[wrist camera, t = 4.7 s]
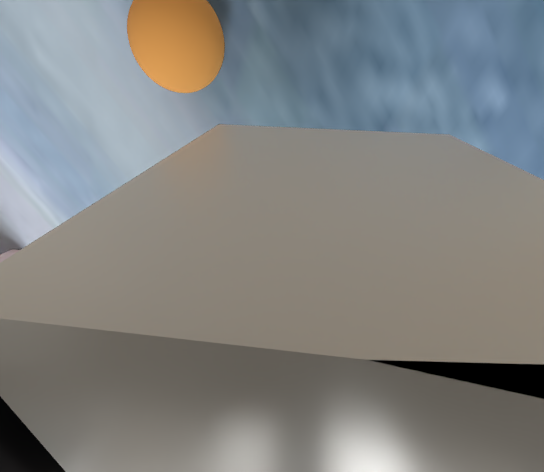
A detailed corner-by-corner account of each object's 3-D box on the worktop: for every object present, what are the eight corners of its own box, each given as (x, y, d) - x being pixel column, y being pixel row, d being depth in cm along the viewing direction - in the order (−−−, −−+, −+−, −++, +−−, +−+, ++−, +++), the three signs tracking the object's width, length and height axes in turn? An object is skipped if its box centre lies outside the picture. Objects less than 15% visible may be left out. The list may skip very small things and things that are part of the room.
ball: (243, 78, 18) (223, 81, 14) (175, 99, 19) (136, 106, 15) (218, -20, 16) (184, -54, 11) (141, 9, 17) (84, -12, 13)
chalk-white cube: (391, 305, 13) (500, 621, 6) (230, 290, 14) (138, 554, 6) (449, 134, 9) (1089, 442, 2) (219, 124, 10) (-75, 310, 2)
